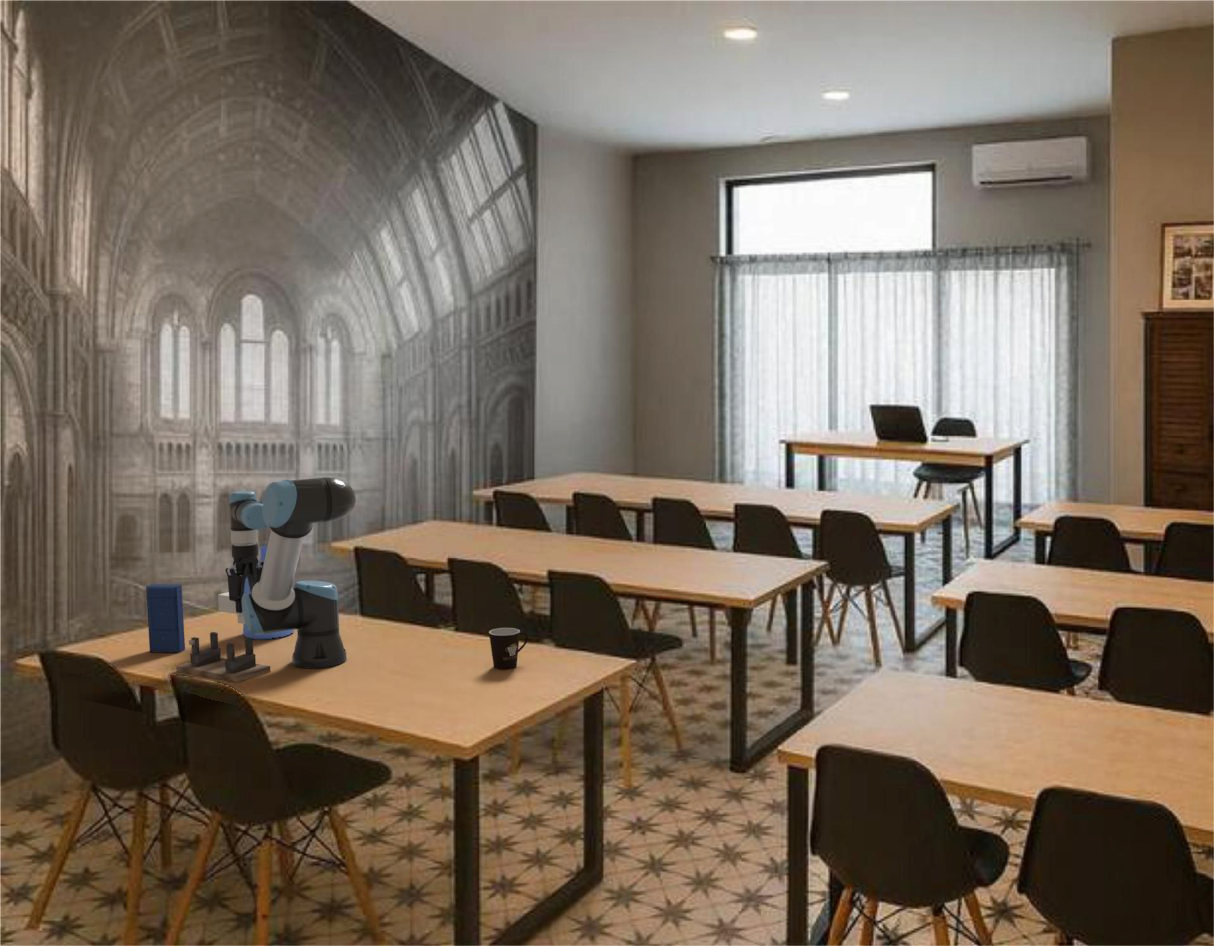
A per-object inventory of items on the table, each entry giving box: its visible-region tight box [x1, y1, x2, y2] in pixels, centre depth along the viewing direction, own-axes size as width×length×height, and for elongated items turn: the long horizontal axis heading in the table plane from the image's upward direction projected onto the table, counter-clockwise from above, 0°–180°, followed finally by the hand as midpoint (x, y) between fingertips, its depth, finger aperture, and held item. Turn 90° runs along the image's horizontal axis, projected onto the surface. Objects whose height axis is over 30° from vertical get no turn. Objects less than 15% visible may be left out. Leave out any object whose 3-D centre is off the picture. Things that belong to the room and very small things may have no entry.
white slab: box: [217, 591, 245, 615], centre depth 336 cm, size 20×4×5 cm, turn 60°
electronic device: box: [145, 583, 186, 653], centre depth 340 cm, size 10×5×20 cm, turn 84°
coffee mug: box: [488, 627, 529, 671], centre depth 318 cm, size 12×9×10 cm
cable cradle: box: [176, 631, 271, 683], centre depth 317 cm, size 24×12×10 cm, turn 60°
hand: (248, 621), depth 337 cm, fingers closed on white slab, 4 cm apart
